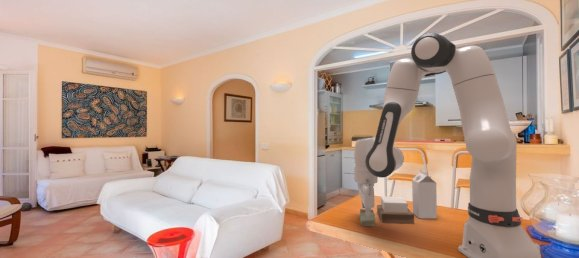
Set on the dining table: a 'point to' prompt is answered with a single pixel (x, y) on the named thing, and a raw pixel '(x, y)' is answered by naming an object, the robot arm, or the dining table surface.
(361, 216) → the sage cube
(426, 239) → the dining table surface
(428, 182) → the milk carton
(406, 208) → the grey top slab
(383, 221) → the walnut base slab
